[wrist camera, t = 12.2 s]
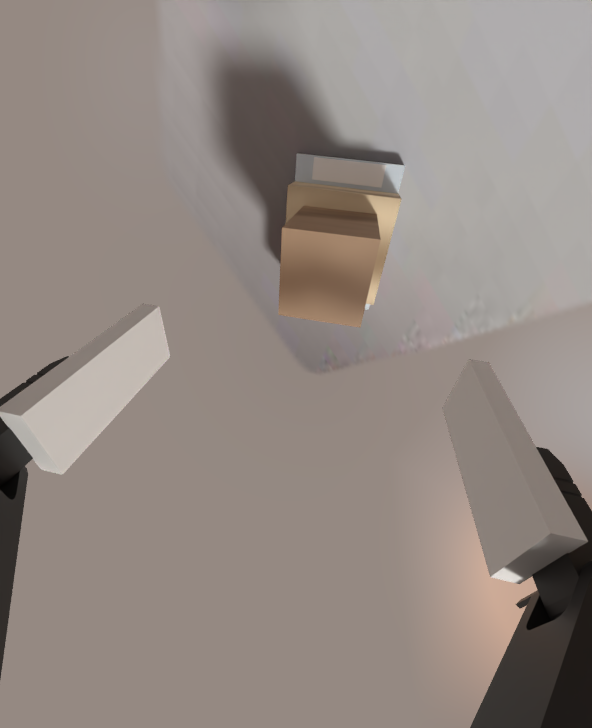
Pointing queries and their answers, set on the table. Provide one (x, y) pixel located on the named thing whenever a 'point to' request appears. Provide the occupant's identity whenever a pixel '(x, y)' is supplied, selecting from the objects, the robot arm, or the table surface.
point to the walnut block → (327, 264)
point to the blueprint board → (349, 174)
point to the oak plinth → (350, 201)
